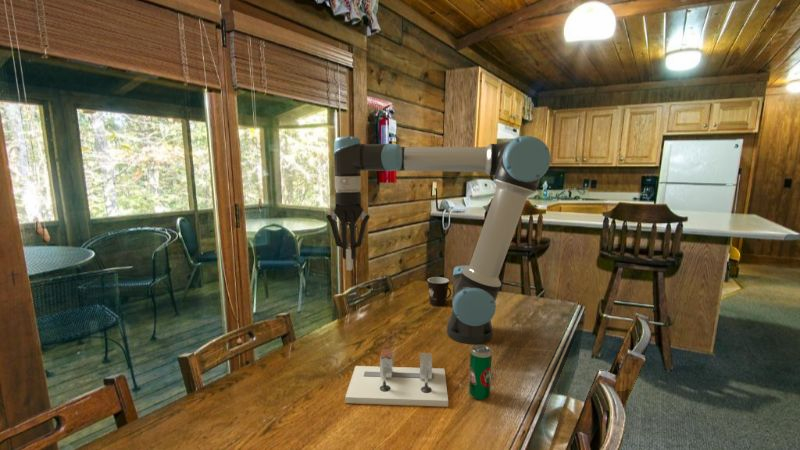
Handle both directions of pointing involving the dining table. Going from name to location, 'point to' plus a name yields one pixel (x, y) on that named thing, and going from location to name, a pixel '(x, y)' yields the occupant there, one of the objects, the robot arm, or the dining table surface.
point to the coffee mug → (438, 291)
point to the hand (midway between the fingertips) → (349, 269)
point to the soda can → (480, 372)
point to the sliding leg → (386, 364)
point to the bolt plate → (397, 387)
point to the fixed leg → (426, 367)
